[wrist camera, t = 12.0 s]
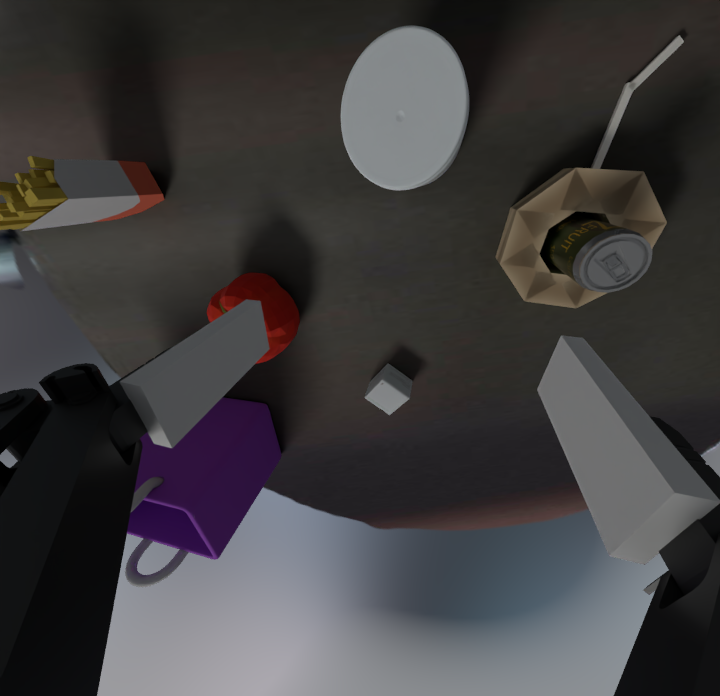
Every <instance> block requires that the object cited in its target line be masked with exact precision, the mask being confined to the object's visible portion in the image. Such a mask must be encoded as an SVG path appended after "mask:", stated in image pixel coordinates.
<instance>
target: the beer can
mask: <svg viewBox="0 0 720 696" xmlns="http://www.w3.org/2000/svg"><path fill="white" fill-rule="evenodd" d="M541 252H542V254H543V256H544V257H545V258H546V259H547V260H548V261H549V262H551V263H552V264H553V265H554V266H556V267H557V268H558V269H560V270H561V271H562V272H563V273H565V274H566V275H567V276H569V277H570V278H571V279H572V280H574V281H575V282H576V283H578V284H579V285H580V286H581V287H583V288H586V289H588V290H591V291H596V292H606V293H608V292H613V291H619V290H621V289H623V288H626V287H628V286H630V285H631V284H633V283H634V282H636V281H637V280H639V279H640V278H641V276H642V275H643V274H644V273H645V272H646V271H647V269H648V267H649V265H650V263H651V260H652V249H651V246H650V244H649V243H648V242H647V241H646V239H645V238H644V237H643V236H642V235H641V234H640V233H638V232H635V231H633V230H630V229H626V228H623V227H619V226H615V225H612V224H608V223H604V222H601V221H597V220H593V219H590V218H586V217H582V216H568V217H566V218H565V219H563V220H562V221H560V222H559V223H557V224H556V225H554V226H553V227H551V228H550V229H549V230H548V233H547V235H546V238H545V240H544V243H543V246H542V248H541Z"/></svg>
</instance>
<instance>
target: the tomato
mask: <svg viewBox="0 0 720 696" xmlns="http://www.w3.org/2000/svg"><path fill="white" fill-rule="evenodd" d="M246 299H248V300H256V301H261V306H262V311H263V317H264V322H265V327H266V333H267V338H268V343H269V350H268V351H267V352H266V353H265V354H264V355H263V356H262V357H261V358H260V359H259V360H258V361H257V362H256V363H255V364H258V363H262V362H266V361H268V360H270V359H272V358H273V357H275V356H276V355H278V354H279V353H280V352H282V351H283V350H284V349H285V348H286V347H287V346H288V345H289V344H290V342H291V341H292V340H293V338H294V337H295V336H296V334H297V330H298V326H299V323H300V318H299V311H298V309H297V307H296V304H295V302H294V300H293V299H292V297H291V296H290V295H289V294H288V292H287V291H285V290H284V289H283V288H281V287H280V286H279V284H278V283H277V281H276V280H275V279H274V278H272V277H271V276H269V275H267V274H264V273H246V274H243V275H241V276H239V277H238V278H236V279H235V280H234V281H233V282H232V283H230V284H229V285H228V286H227V287H224V288H223V289H221V290H220V291H218V292H217V293H216V294H215V295H214V296H213V297H212V298H211V300H210V303H209V305H208V309H207V315H208V319H209V321H210V322H212V321H214V320H216V319H217V318H219V317H220V316H222V315H223V314H225V313H226V312H228V311H229V310H231V309H232V308H234V307H236V306H237V305H239V304H240V303H242V302H243V301H245V300H246Z"/></svg>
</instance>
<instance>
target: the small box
mask: <svg viewBox="0 0 720 696" xmlns="http://www.w3.org/2000/svg"><path fill="white" fill-rule="evenodd" d="M412 382H413V381H412V380H411V379H409V378H408V377H407V376H405V375H404V374H402V373H401V372H400V371H398V370H397V369H395V368H394V367H393V366H391V365H390V364H388V363H387V364H386V366H385V367H384V368H383V369H382V370H381V371H380V372H379V373H378V374H377V375H376V376H375V377H374V378H373V379H372V380H371V381H370V383H369V386H368V389H367V392H366V394H365V399H367V400H368V401H370V402H371V403H373V404H374V405H376V406H377V407H379V408H380V409H382V410H383V411H384V412H386V413H387V414H389V415H390V414H392V413H393V412H394V411H395V410H396V409H397V408H399V407H400V406H401V405H402V404H403V403H405V402H406V401H407V400H408V399H410V394H411V388H412Z"/></svg>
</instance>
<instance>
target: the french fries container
mask: <svg viewBox="0 0 720 696" xmlns="http://www.w3.org/2000/svg"><path fill="white" fill-rule="evenodd" d="M28 160H29V163H30V166H31V168H38V169H44V170H29V172H30V174H29V173H17V174H15V176H16V178H17V180H18V182H19V184H15V183H6V182H0V195H3V196H4V198H5V200H6V201H7V203H0V230H4V229H12V230H13V229H19V230H20V231H26V230H34V229H42V228H50V227H58V226H67V225H75V224H83V223H91V222H99V221H107V220H115V219H120V218H123V217H126V216H130V215H133V214H136V213H140V212H143V211H144V210H146V209H148V208H150V207H152V206H154V205H156V204H157V203H159V202H161V201H163V200H164V197H163V193H162V192H161V190H160V188H159V186H158V185H157V183H156V181H155V179H154V178H153V176H152V174H151V172H150V171H149V169H148V167H147V165H146V163H145V162H133V161H112V160H64V159H54V160H50V159H45V158H40V157H34V156H30V157H28ZM49 170H50V171H49Z"/></svg>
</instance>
